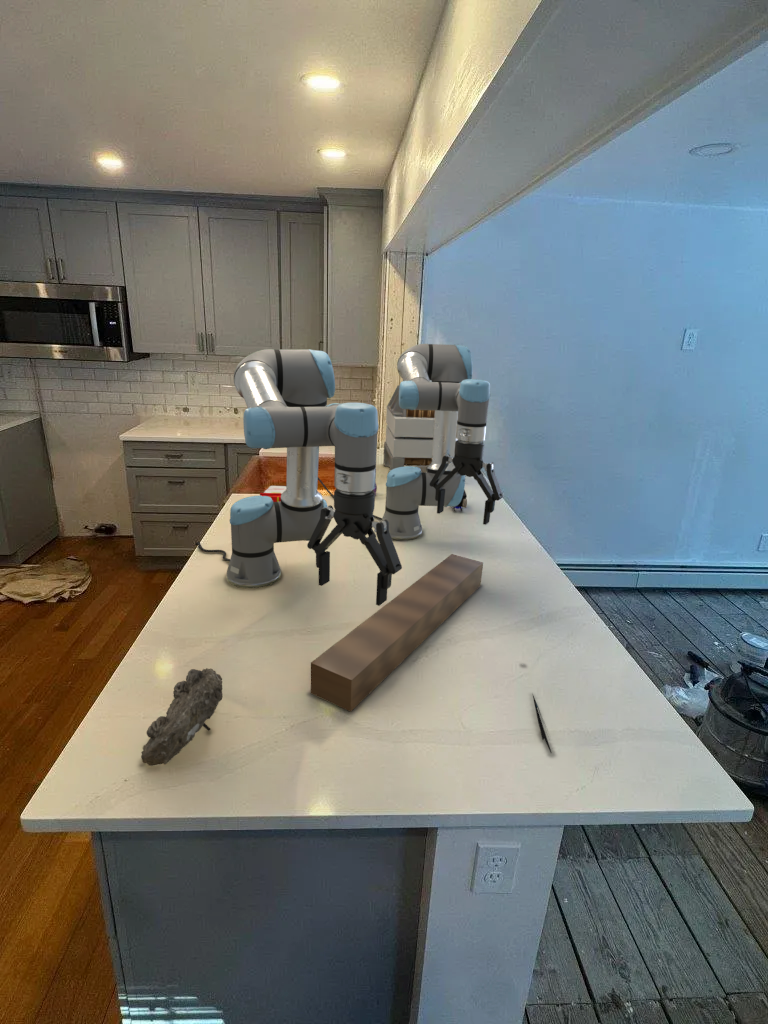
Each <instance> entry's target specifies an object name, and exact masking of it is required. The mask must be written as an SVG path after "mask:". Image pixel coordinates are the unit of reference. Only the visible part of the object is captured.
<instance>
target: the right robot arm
mask: <svg viewBox="0 0 768 1024" xmlns="http://www.w3.org/2000/svg"><path fill="white" fill-rule="evenodd" d="M396 368H397V373H398V374H399V377H400V378H401V379H402V381H400V383H399V385H400V387H399V406H400V408H402V409H410V410H435V414H434V432H433V450H432V462H431V464H430V465H428V466H426V471H425V472H424V471H422V469H421V468H420V467H419V466H407V465H404V467H398V468H395V469H392V470H391V471H390V470H388V473H387V475H386V482H385V487H386V488H385V489H386V490H385V504H384V505H385V507H384V508H385V509H384V513H383V515H382V517H380V516H377V515H375V514H373V517H374V519H376V520H378V521H383V520H384V519H386V520H388V522H389V533H390V535H391V538H392V540H395V541H410V540H415V539H418V538H420V537H421V536H422V535H423V525H422V524H421V518H420V515H419V507H436V514H438V515H440V514H442V513H443V512H444V509H445V508H447V507H451V506H457V505H458V504H459V503H460V502H461V499H462V497H463V493H464V490H465V489H466V487H465V486H466V477H468V478H472V477H473V479H474V481H476V483H477V484H478V486H479V487H480V489H481V490H482V492H483V494H484V495H485V497H486V500H485V501H484V512H483V518H482V519H483V520H482V525H484V526H486V525H487V524H489V523H490V521H491V519H490V518H491V514H492V513H493V512H494V511H495V505H496V501H500V500H501V499H503V497H504V495H503V492H502V488H501V486H500V483H499V481H498V478H497V475H496V471H495V462H494V461H491V462H484V452H485V443H484V441H486V432H487V422H488V421H487V420H488V411H489V405H490V404H489V403H490V399H491V393H490V392H491V384H490V382H489V381H487V380H484V379H477V378H473V373H474V371H473V368H474V367H473V357H472V352H471V350H470V348H469V347H468V346H466V345H459V344H443V343H442V344H441V343H439V344H438V343H435V344H434V343H419V344H415V345H413V346H410V347H409V348H407V349H406V350H404V351H403V352H402V353H401V354H400V356H399V357H398V359H397V362H396ZM482 469H484V471H485V472H486V476H487V478H485V477H484V473H483V471H482ZM486 479H488V481H487V480H486ZM318 482H319V483H320V484H321V485H322V487H323V488H324V489H325V491H326V492H327V493H328V494H329V495H330V496H331V497H332V498H334V493H332V492H331V491H330V490H329V489H328V488H327V486H326V484H325V483H324V482H323V481H322V480H321V478H319V477H318Z"/></svg>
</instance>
